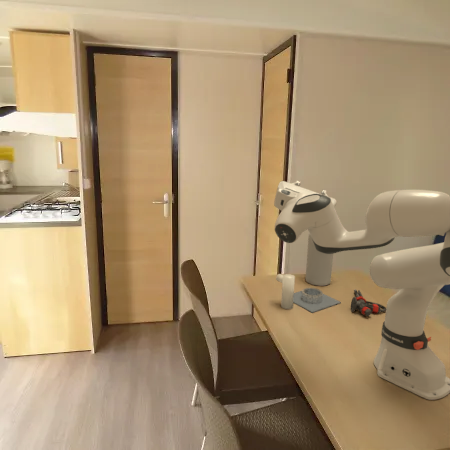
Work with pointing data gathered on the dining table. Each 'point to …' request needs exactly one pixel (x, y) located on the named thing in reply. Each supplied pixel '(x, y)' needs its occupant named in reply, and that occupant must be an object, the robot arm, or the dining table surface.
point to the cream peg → (287, 290)
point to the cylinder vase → (318, 265)
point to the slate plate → (313, 308)
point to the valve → (365, 305)
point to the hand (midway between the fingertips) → (311, 187)
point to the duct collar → (312, 295)
